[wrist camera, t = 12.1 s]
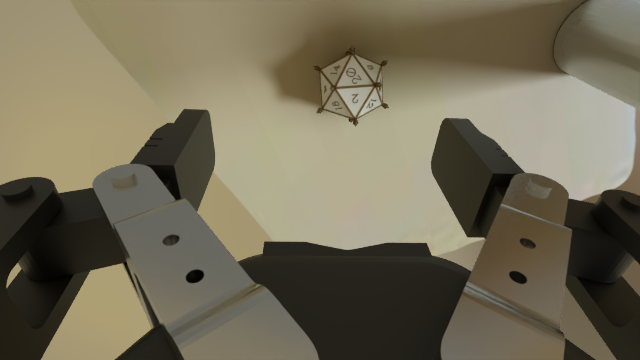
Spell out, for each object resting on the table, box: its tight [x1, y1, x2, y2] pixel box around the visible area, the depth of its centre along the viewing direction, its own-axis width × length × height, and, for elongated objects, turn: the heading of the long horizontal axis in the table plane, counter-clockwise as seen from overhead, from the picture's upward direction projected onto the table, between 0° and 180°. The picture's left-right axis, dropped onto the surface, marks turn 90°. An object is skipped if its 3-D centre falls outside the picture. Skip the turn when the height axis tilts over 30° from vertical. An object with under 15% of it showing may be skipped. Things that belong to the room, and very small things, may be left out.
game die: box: [313, 46, 389, 126], centre depth 40 cm, size 9×8×10 cm
